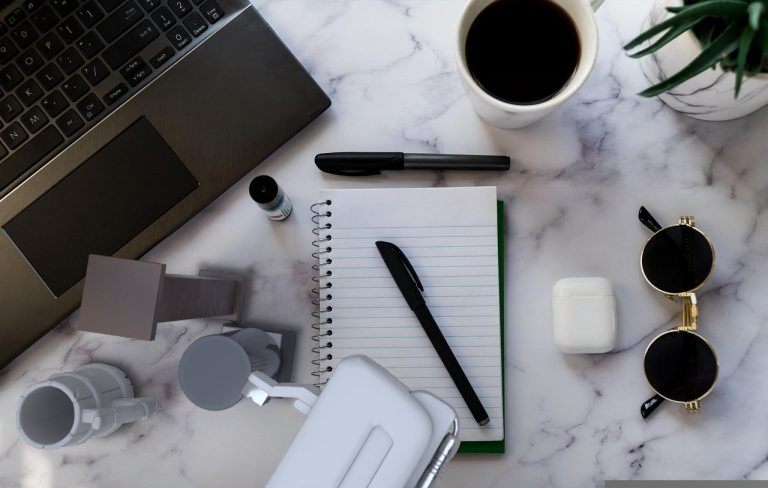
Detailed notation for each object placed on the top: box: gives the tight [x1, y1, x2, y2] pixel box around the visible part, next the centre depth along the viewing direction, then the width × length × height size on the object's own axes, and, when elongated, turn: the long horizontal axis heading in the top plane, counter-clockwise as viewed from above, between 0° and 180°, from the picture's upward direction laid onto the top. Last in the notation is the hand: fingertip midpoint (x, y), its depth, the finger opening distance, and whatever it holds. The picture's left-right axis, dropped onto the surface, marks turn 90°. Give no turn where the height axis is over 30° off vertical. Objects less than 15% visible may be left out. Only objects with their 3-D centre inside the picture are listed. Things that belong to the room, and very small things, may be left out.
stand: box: [76, 253, 249, 342], centre depth 57 cm, size 6×6×22 cm
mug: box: [14, 362, 161, 451], centre depth 62 cm, size 8×12×12 cm, turn 89°
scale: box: [221, 321, 298, 400], centre depth 66 cm, size 7×7×3 cm
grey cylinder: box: [178, 328, 281, 412], centre depth 59 cm, size 6×6×10 cm
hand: (210, 442), depth 42 cm, fingers open, 8 cm apart
